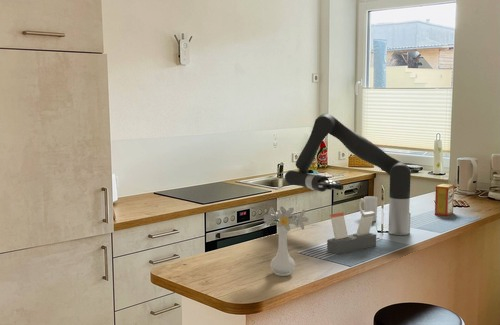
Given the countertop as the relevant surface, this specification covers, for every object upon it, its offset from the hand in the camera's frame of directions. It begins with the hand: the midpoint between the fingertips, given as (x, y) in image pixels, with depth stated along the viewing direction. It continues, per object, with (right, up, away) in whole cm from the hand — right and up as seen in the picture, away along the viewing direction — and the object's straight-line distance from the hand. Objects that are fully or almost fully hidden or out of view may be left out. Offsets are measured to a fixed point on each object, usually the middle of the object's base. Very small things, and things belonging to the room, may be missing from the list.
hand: (342, 187), depth 255 cm
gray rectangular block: (+2, -26, -11) cm, 28 cm away
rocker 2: (+7, -20, -8) cm, 23 cm away
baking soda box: (+64, -17, +54) cm, 86 cm away
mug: (+20, -19, +41) cm, 50 cm away
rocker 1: (-3, -21, -15) cm, 26 cm away
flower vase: (-29, -30, -43) cm, 60 cm away
